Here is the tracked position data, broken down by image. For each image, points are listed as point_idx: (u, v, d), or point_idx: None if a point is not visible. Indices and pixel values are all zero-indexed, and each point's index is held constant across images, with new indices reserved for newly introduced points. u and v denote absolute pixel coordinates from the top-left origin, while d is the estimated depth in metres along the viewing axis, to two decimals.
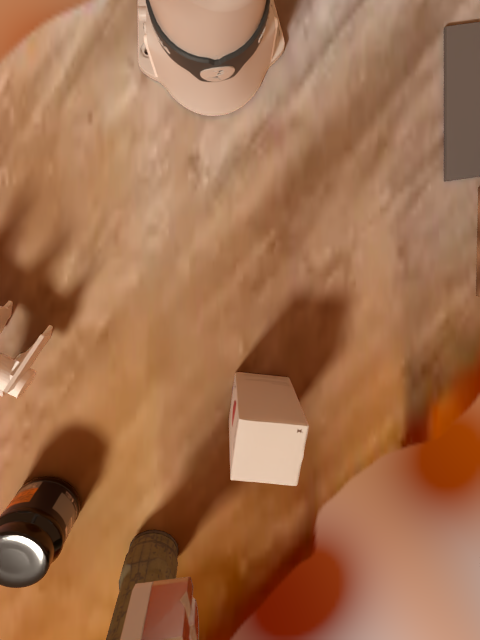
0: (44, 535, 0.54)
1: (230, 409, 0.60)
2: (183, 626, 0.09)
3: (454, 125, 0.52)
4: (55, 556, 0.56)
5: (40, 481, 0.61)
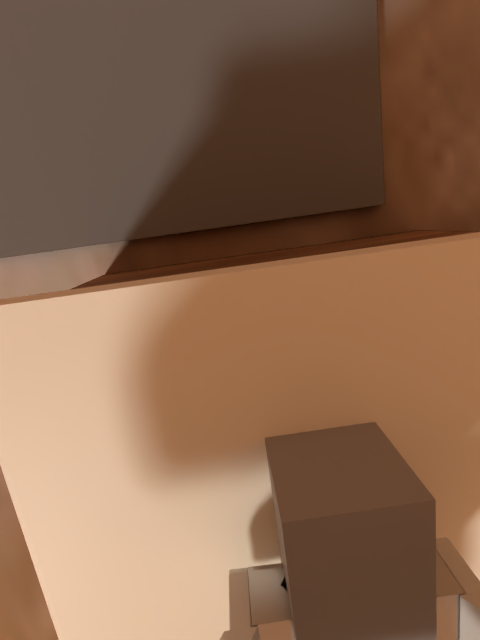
0: None
1: None
2: (290, 610, 0.09)
3: None
4: None
5: None
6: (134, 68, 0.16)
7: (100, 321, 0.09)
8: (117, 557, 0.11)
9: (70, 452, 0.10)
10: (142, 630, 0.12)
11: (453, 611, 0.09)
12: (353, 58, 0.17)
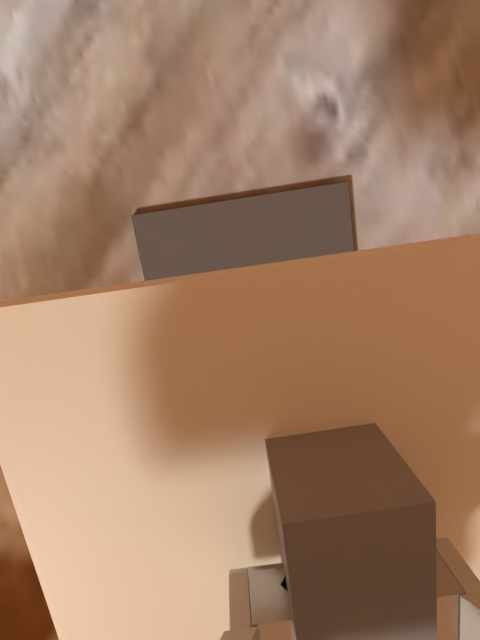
0: None
1: None
2: (290, 610, 0.09)
3: None
4: None
5: None
6: None
7: (100, 323, 0.09)
8: (118, 558, 0.11)
9: (71, 453, 0.10)
10: (142, 631, 0.12)
11: (453, 611, 0.09)
12: None
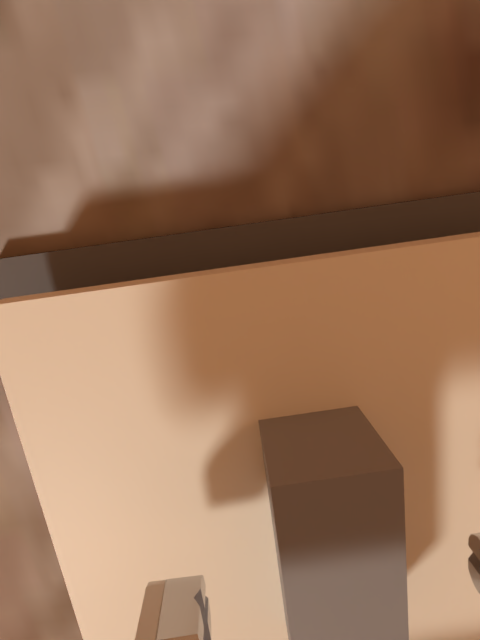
0: None
1: None
2: (198, 624, 0.09)
3: None
4: None
5: None
6: None
7: (112, 315, 0.10)
8: (125, 529, 0.12)
9: (84, 432, 0.11)
10: None
11: None
12: None
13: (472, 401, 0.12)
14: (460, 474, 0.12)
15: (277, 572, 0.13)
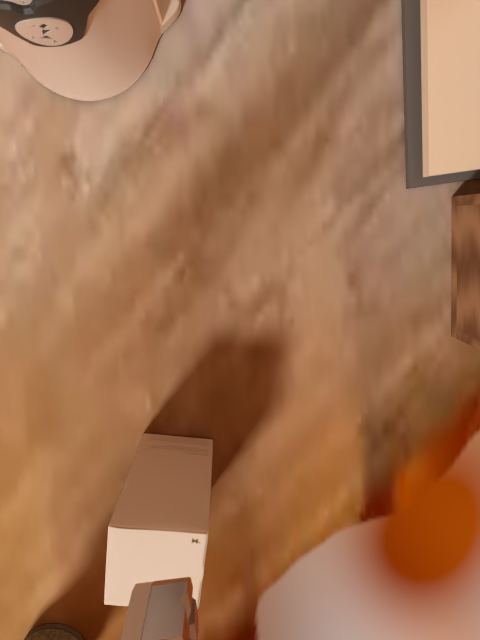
0: None
1: None
2: (183, 626, 0.09)
3: (417, 114, 0.39)
4: None
5: None
6: None
7: None
8: (452, 67, 0.36)
9: (447, 24, 0.35)
10: (454, 99, 0.36)
11: None
12: None
13: None
14: None
15: None
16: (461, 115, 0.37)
